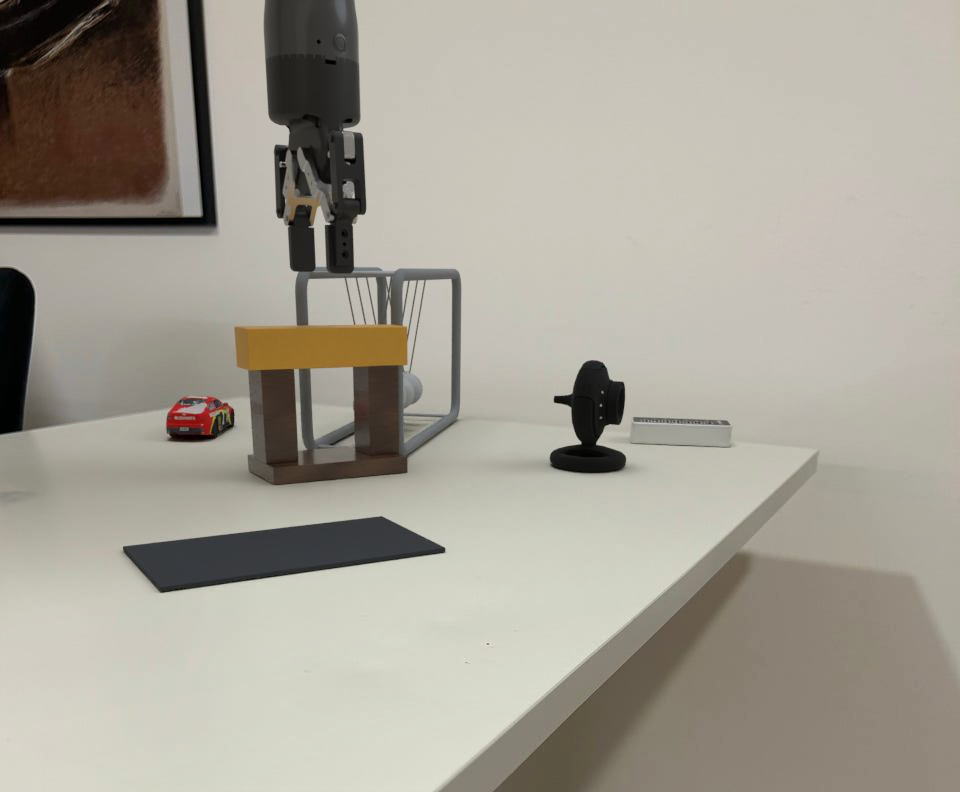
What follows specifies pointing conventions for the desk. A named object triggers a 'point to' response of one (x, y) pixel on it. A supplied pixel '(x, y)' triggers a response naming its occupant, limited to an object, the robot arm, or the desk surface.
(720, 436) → the multiport hub
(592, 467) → the webcam
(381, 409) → the wooden u-shaped stand
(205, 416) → the race car
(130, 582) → the desk surface
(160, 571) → the mat
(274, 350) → the bar
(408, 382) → the newton's cradle
